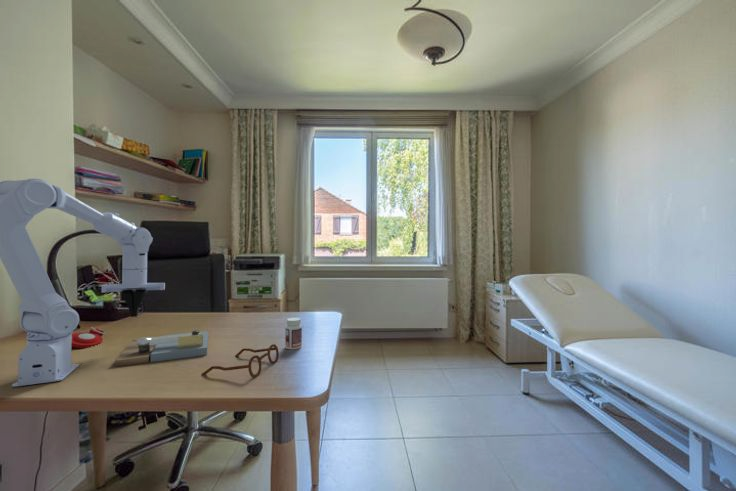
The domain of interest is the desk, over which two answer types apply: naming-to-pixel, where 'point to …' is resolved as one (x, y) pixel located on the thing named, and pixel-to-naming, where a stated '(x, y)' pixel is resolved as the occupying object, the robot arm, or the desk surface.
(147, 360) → the jamb board
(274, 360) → the glasses
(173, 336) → the bar
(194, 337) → the brass keeper
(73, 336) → the tracker holder
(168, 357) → the door panel
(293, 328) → the pill bottle
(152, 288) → the robot arm
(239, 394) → the desk surface
